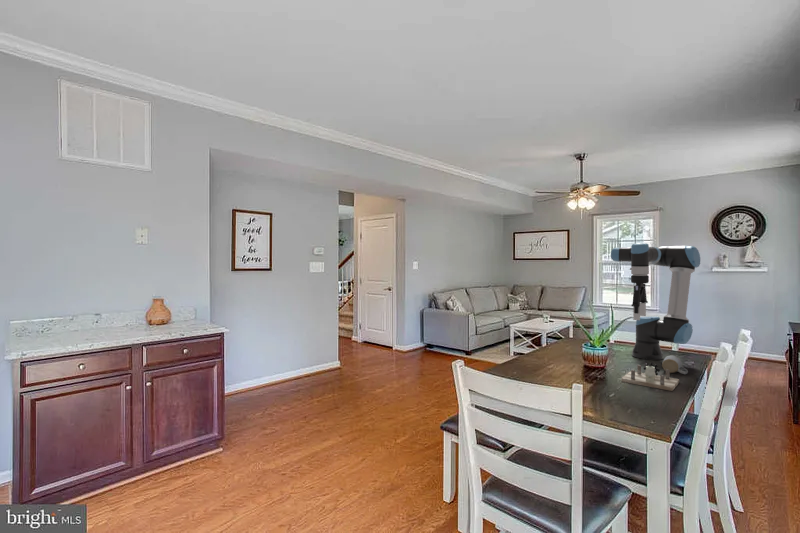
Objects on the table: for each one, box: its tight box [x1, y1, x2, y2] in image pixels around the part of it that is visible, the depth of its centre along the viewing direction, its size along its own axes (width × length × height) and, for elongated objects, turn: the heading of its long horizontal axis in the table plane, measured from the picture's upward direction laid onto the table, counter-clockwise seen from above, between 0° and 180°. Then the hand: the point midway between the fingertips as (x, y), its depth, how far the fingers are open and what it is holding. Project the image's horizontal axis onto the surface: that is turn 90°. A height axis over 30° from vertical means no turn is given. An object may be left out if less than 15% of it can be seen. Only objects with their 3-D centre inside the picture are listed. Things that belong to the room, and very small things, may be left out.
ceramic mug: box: [661, 354, 689, 375], centre depth 206 cm, size 11×8×8 cm
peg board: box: [621, 364, 680, 392], centre depth 190 cm, size 16×20×6 cm
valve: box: [643, 362, 661, 383], centre depth 190 cm, size 7×7×12 cm
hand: (639, 317), depth 203 cm, fingers open, 13 cm apart
